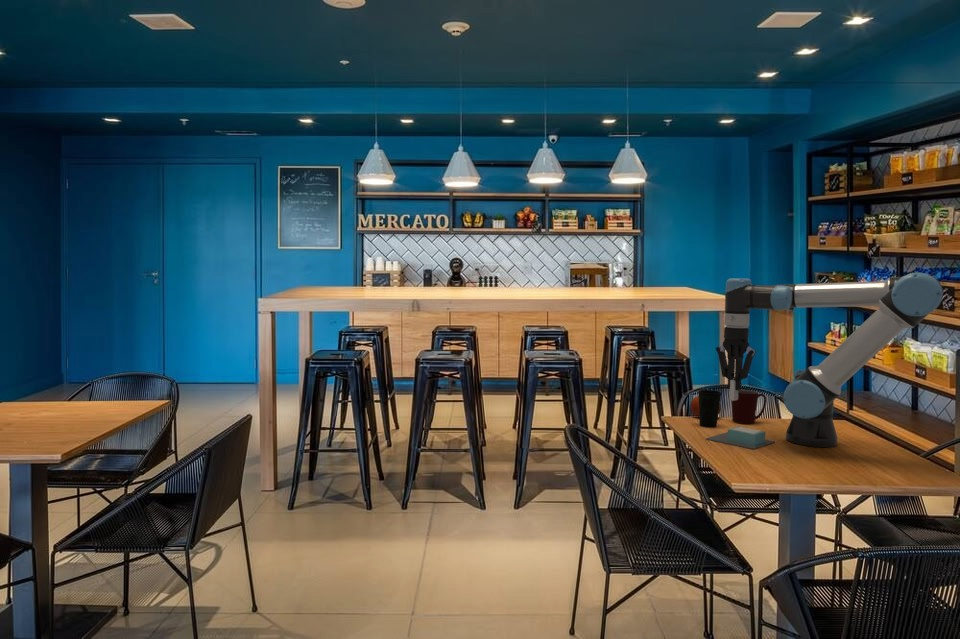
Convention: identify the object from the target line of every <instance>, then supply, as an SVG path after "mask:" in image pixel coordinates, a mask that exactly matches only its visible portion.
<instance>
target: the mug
mask: <svg viewBox="0 0 960 639" xmlns="http://www.w3.org/2000/svg"><path fill="white" fill-rule="evenodd" d="M766 396H767V395H765V394H764V393H759V392H758V391H755V390H752V389H751V390H749V389H741V390H738V400H735V401H732V400H731V416H732V422H733V423H735V424H740V425H753V424H755V421H756V420H758V419H759V418H761V416H762V415H763V414H764V411H765V409H766V405H767V397H766ZM759 397H763V404H762V408H761V410H760V413H758V414H757V407H758V400H759ZM756 414H757V415H756Z"/></svg>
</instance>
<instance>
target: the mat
mask: <svg viewBox="0 0 960 639" xmlns="http://www.w3.org/2000/svg"><path fill="white" fill-rule="evenodd" d="M727 439H728V431H726V432H723V433H720V434H716V435H713V436H710V437H709V436H708V437H706V438H705V440H707V441H712V442H716V443H721V444H724V445H731V446H734V447H735V446H736V447H740V448H744V449H750V450H752V451H753V450H757V449H760V448H763V447H765V446H768V445H772V444H775V441H774V440H769V439H765V443H762V444H759V445H756V446H752V445H747V444H743V443H738V442H733V441H728V440H727Z"/></svg>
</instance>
